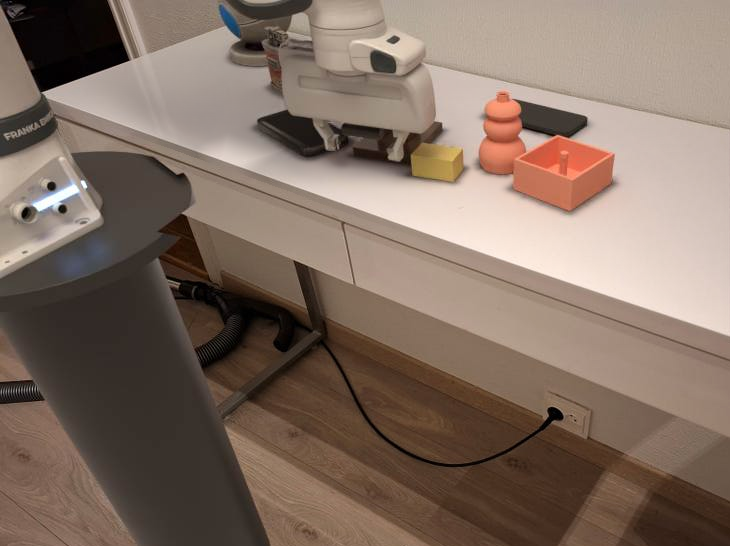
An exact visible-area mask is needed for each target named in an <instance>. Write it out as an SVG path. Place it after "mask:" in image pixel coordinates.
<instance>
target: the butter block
mask: <svg viewBox="0 0 730 546" xmlns="http://www.w3.org/2000/svg"><path fill="white" fill-rule="evenodd" d="M410 165H411V173H412V174H411V175H412V176H413V177H419V178H426V179H432V180H437V181H445V182H449V183H454V182H455V181H456V180H457V178H458V177H459V176H460V174H461V173H462V172H463V170H464V169H465V168H464V148H461V147H455V146H449V145H448V146H447V145H441V144H435V143H434V144H433V143H430V144H428V143H422V144H421V145H420V146H419V147H418V148H417V149H416V150H415V151H414V152H413V153H412V154H411V164H410Z"/></svg>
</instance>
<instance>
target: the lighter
mask: <svg viewBox="0 0 730 546" xmlns="http://www.w3.org/2000/svg"><path fill="white" fill-rule="evenodd" d="M265 32H266V35H267V38H268V39H265V40H263V41H262V46H263V48H264V49H265V54H266V59H267V63H268V65H267V68H268V72H269V76H270V86H271V89H272V90H273V91H274V92H275V93H278V94H279V95H282V96H283V90H282V68H281V66H280V61H279V56H278V49H279V46H280V45H281V44H282V43H283V42H285V41H286V39H290V37H289V33H287V32H284V31H281V30H280V28H279V27H278V26H277V27H266V28H265ZM284 47H286V45H285V46H284Z"/></svg>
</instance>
